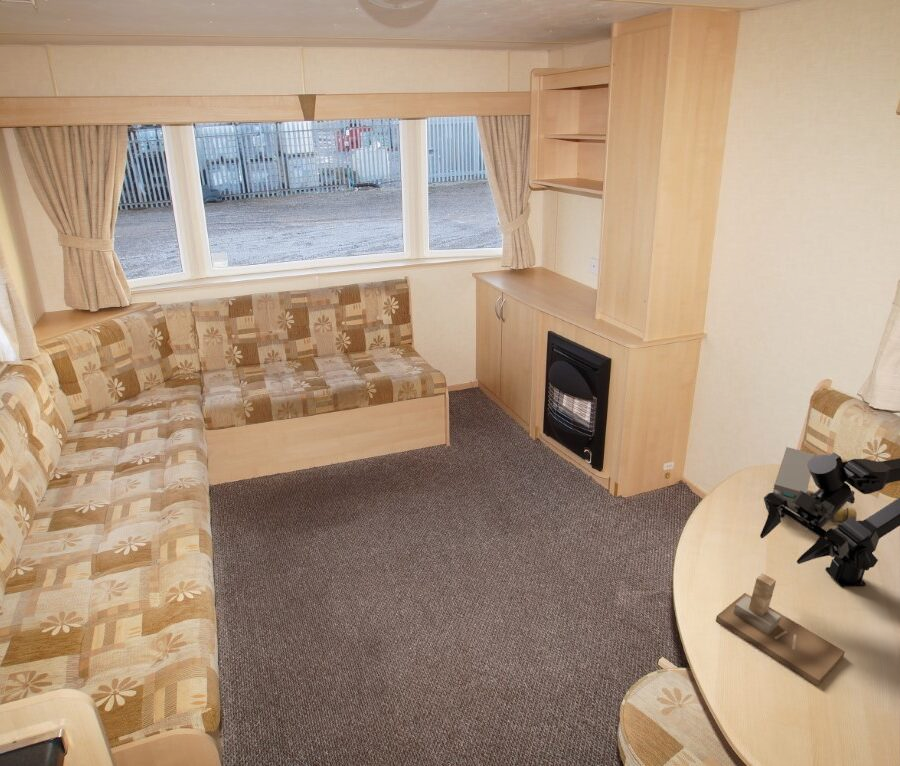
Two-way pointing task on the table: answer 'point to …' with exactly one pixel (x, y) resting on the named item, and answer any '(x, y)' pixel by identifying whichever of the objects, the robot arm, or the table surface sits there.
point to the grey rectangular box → (793, 475)
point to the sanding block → (759, 605)
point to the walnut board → (787, 644)
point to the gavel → (844, 514)
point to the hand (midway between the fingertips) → (778, 549)
